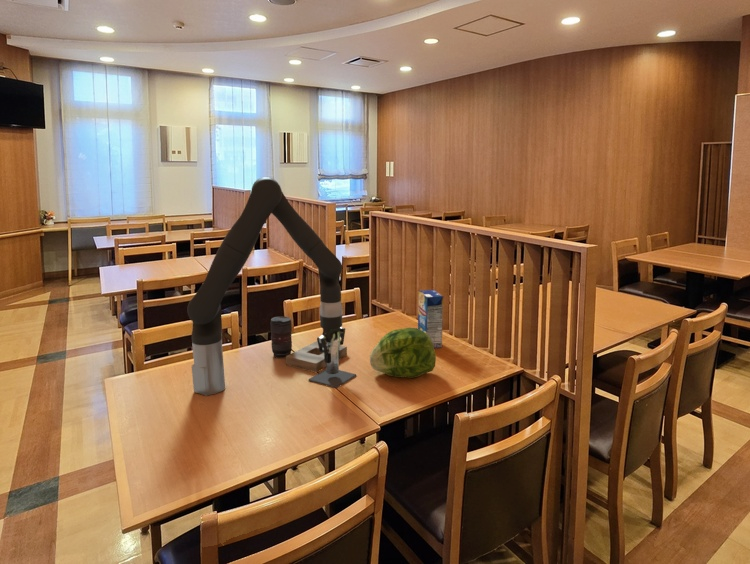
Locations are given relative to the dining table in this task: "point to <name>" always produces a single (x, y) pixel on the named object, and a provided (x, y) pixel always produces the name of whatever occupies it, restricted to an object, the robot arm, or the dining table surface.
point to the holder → (311, 357)
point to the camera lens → (281, 336)
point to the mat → (332, 378)
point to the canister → (333, 359)
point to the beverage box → (431, 315)
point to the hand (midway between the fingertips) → (332, 360)
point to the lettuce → (404, 353)
